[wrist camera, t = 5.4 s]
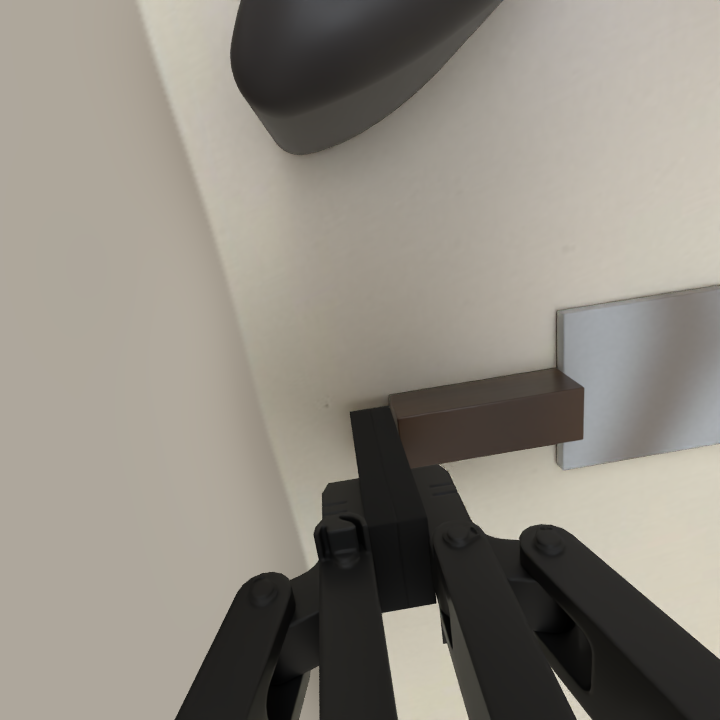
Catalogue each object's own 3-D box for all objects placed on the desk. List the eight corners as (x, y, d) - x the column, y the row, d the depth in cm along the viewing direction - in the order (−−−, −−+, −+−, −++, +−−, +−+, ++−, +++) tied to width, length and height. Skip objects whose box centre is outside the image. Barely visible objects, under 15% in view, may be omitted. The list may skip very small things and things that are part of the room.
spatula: (400, 490, 20) (409, 522, 18) (380, 338, 18) (389, 355, 16) (729, 434, 21) (774, 459, 19) (750, 279, 19) (804, 289, 17)
